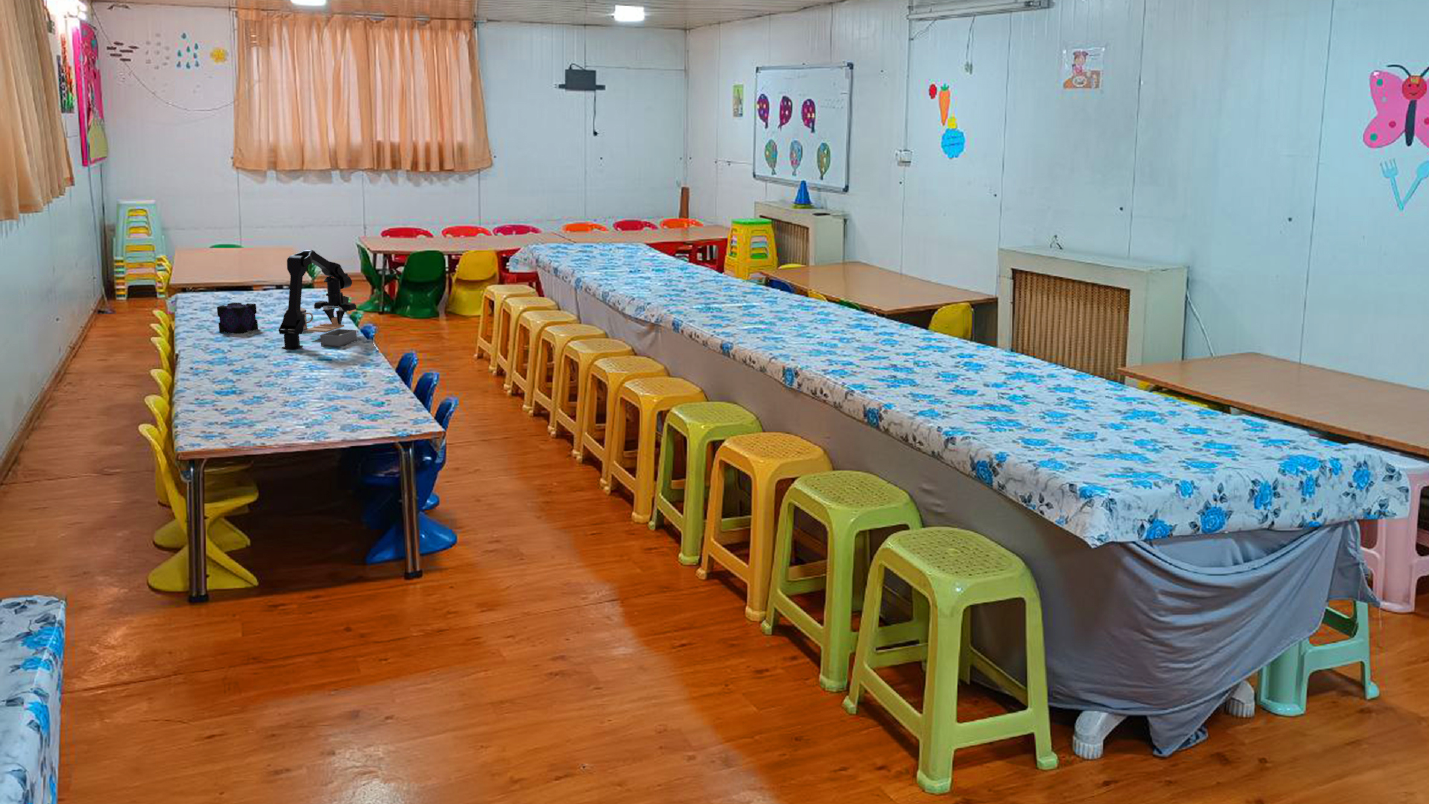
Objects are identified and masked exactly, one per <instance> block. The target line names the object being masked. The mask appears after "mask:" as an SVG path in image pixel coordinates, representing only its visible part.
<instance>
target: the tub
mask: <svg viewBox="0 0 1429 804" xmlns="http://www.w3.org/2000/svg"><path fill="white" fill-rule="evenodd" d="M319 338H320V339H319V340H320V347H328V348H341V347H344V346H348V345H350V344H353V343H355V342H354V341H356V342H357V341H358V338H357V329H343V328H338V329H335V330H332V331H329V332H323V333H322V334H320V335H319ZM347 344H348V345H347Z"/></svg>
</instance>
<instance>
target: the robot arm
mask: <svg viewBox="0 0 1429 804" xmlns="http://www.w3.org/2000/svg"><path fill="white" fill-rule="evenodd" d="M311 264H314V266H316V267H318V268H319V269H320V270H321V273H323V275H324V276H326V277H325V279H324V280H323V282H324V283H326V290H327V293H325V295H326V297H327V301H325V300H319V301H316V302H314V304H313V308H314V310H321V309H322V312H324V313H325V314H326V316H327V318H328V320H329V321H330V324H332V320H331V318H333V317H335V314H336V317H337V320H338V324H341V325H342V321H343V317H344V315H345V313H346V312H351V311H354V310H357V305H356V303H355V302H349V301H350V297H349V296H346V295H344V293H343V292H341V291H342V289H343V290H344V289H347V288H350V287H351V286H352V285H353V280H352V278H351V277H350V276H349V274H348V273H347V272H345V271H344V270H343V267H342V265H341V264H340V263H337V262H335V261H334V262H333V261H329V260H328V259H326V258H325V257H323V256H322V255H320V253H319V254H318V253H317V252H316V251H315V250H312V249H304V250H302V251H300V252H297V253H295V254H294V253H293V254H292V255H290V256H288V257H287V259H286V269H287V271H288V273H289V276H290V277H289V291H288V292H289V295H288V307H287V309H288V310H287V309H286V310H287V311H286V310H285V313H284V314H283V319H282V321H281V324H280V326H279V327H278V333H279V335H283V341H284V343H283V344H284V345H283V346H282V347H281V349H286V350H296V349H300V348H302V347H304V345H303V344H301V341H300V335H302V334H303V333H304V330H303V328H304V324H305V314H302V312H301V310H300V308H302V306H301V305H302V291H303V277H304V276H305V274H306V273H307V271H308V267H309V266H310V265H311ZM336 309H338V310H336ZM335 310H336V311H335ZM288 329H291V330H288Z"/></svg>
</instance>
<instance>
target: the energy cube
mask: <svg viewBox="0 0 1429 804" xmlns="http://www.w3.org/2000/svg"><path fill="white" fill-rule="evenodd" d="M216 313H217V317H219V322H218V323H217V324H218V331H219V333H222V332H227V333H226V334H228V332H229V333H233V334H237V335H238V334H239V335H242V334H247V333H248V332H249V331H256V330H259V325H258V319H257V318H256V317H257V316H256V314H257V313H258V311H257V304H256V303H248V302H247V303H245V304H243V303H242V302H230V303H227V305H219V306H216ZM246 332H247V333H246Z"/></svg>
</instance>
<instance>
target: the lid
mask: <svg viewBox="0 0 1429 804" xmlns="http://www.w3.org/2000/svg"><path fill="white" fill-rule="evenodd" d="M331 320H332V323H327V322H326V323H322V324H321V323H320V324H318V325H314V326H312V327H310V328H307V329H306V332H314V333H327V332H331V331H334V330H337V329H342V328H343V327H345V324H342V323H341V324H338V320H337V316H334V317H333V318H331Z"/></svg>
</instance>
